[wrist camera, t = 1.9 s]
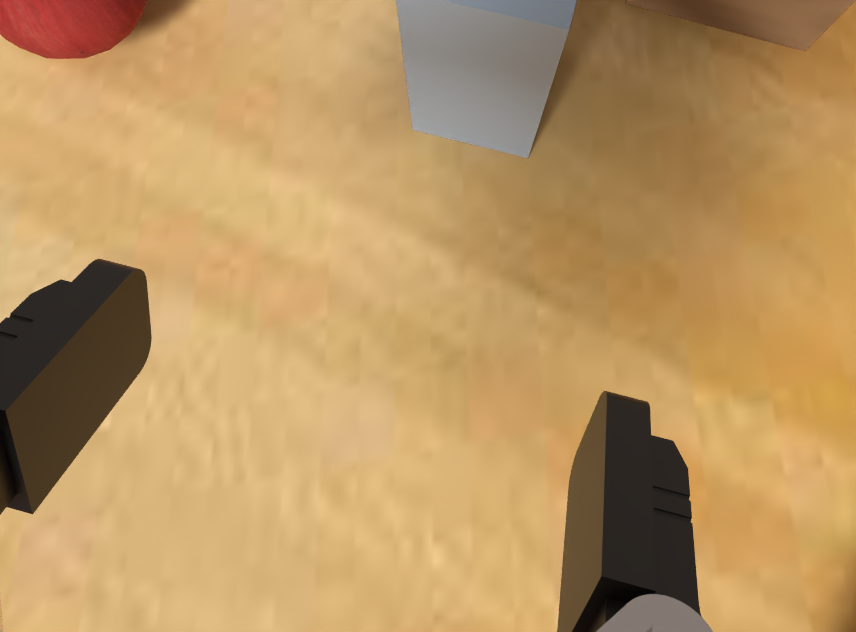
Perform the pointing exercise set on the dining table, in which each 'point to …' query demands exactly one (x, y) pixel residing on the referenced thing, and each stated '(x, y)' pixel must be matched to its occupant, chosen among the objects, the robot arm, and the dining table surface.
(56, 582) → the dining table surface
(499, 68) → the pillar
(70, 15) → the onion
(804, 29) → the walnut block
